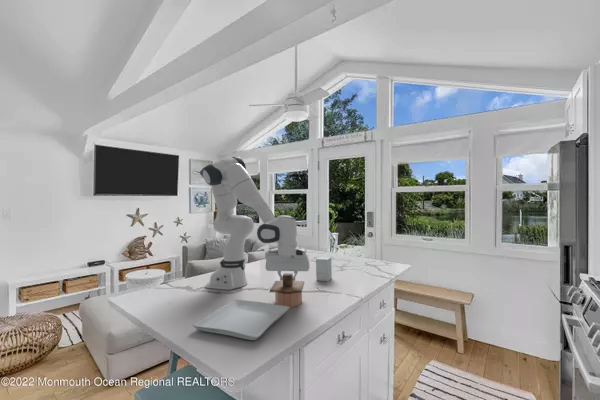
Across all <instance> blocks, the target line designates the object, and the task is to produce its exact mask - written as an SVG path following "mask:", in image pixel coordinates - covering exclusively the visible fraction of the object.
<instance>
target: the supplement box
mask: <svg viewBox="0 0 600 400" xmlns="http://www.w3.org/2000/svg"><path fill="white" fill-rule="evenodd" d="M332 274H333V272H332V257H330V256H319V257H317V258H315V276H316V277H315V278H316V281H321V282H329V281H330V280H331V279H333V276H332Z"/></svg>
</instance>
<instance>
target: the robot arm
mask: <svg viewBox="0 0 600 400" xmlns="http://www.w3.org/2000/svg"><path fill="white" fill-rule="evenodd" d="M246 166H247V165H246V163H245V161H244V159H243V158H242V157H240V156H232V157H229V158H224V159H220V160H219V161H216V162H214V163H211V164H208V165H206V166H204V167H203V169H202V176H203V180H204V181H205V183H206V185H209V186H211V191H212V195H213V197H214V201H215V205H216V208H217V209H216V210H217V214H216V217H215V218H214V219H213V220H214V221H213V229H214V231H216V232H217V233H220V234H222V235H229V240H228V241H227V242H226V243H225V244H224V245H223V259H222V260H220V262H219V265H220V267H218V268H217V269H216V270H215V271H214V272H213V273H211V275H210V279H209V281H208V282H207V283H205V288H206V289H215V290H228V291H231V290H234V289H238V288H243V287H246V286H247V285H248V281H247V277H246V276H247V275H246V272H245V269H246V259H245V243H246V241H247V239H248V236H249V235H250V234H251V233H253V231H254V227H255V223H254V220H253V219H252V217H249V216H247V215H242V214H241V215H239V214H235V211H234V209H235V208H236V206H238V202H239V203H241V204H243V205H246V206H248V207H250V208H252V209H253V210H254V211H255V212H256V214H257V215H258V216H259V218H260V220H261V221H262V224H261V225H259V226H258V228H257V231H256V235H257V238H258V240H259V241H260V242H261V243H263V244H271V243H277V249H276V250H270V249H269V250H267V251H266V252H265V253H264V255H265V270H266V271H267V272H277V275H278V276H279V281H283V274H282V272H293V273H294V275H293V276H292V281H296V277H297V275H298V272H309V270H310V266H311V265H310V260H309V259H310V258H309V256H308V254H307V249H306V248H305V247H301V246H298V243H297V233H298V232H297V231H298V230H297V222H296V218H294V217H293V216H292V215H288V214H287V215H286V214H281V215H278V216H277V217H276V216H275V215H274V213H273V212H272V210H271V209H270V207H269V206H268V204H267V202H266V201H265V200H264V198H263V196H262V195H261V193H260V191H259V189H258V188H257V185H256V184H255V182H254V180H253V179H252V177H251V175H250V174H249V172H248V170H247V167H246Z"/></svg>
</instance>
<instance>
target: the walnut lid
mask: <svg viewBox="0 0 600 400" xmlns="http://www.w3.org/2000/svg"><path fill="white" fill-rule="evenodd" d="M282 276H283V281H280V280H275V281H274V283H273V284H272V286H271V288H270V289H269V292H270V293H275V292H297V293H302V294H303V289H304V285H305V280H303V281H302V280H295V281H292V276H294V275H293V273H288V272H287V273H286V272H285V273H283V274H282Z"/></svg>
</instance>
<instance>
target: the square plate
mask: <svg viewBox="0 0 600 400" xmlns="http://www.w3.org/2000/svg"><path fill="white" fill-rule="evenodd" d="M290 308H291V307H288V306H282V305H277V304H276V303H270V302H262V301H253V300H245V299H244V300H243V299H233V300H232V301H230V302H228V303H226V304H225V305H223V306H221V307H219V308H218V309H216V310H214V311H212V312H211V313H209V314H208V315H206V316H205V317H203V318H201V319H200V320H198V321H196V322H195V323H193V324H192V327H193V328H195V329H197V330H199V331H202V332H207V333H211V334H217V335H224V336H229V337H234V338H239V339H244V340H249V341H256V340H257V339H259V338H260V337H261V336H262V335H263V334H264V333H265V332H266V331H267V330H268V329H269V327H271V326H272V325H273V324H274V323H275V322H276V321H278V320H279V319H280V318H282V316H284V315H285V313H286V312H288V310H289V309H290Z"/></svg>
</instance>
